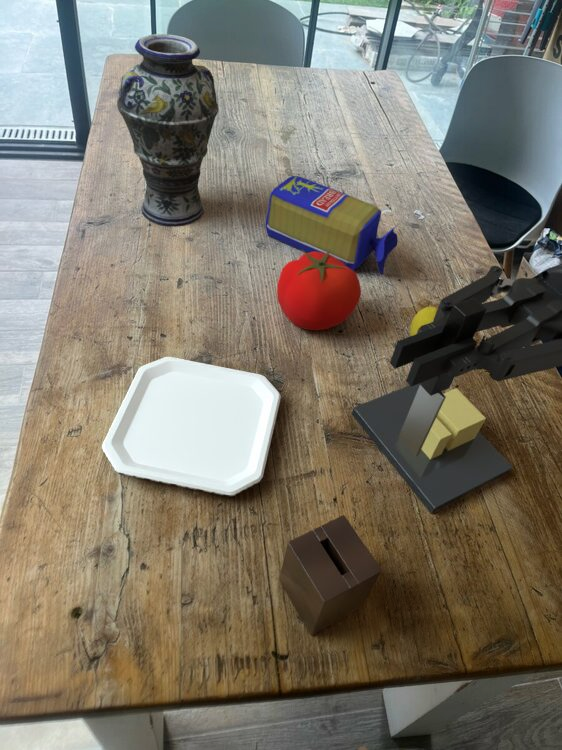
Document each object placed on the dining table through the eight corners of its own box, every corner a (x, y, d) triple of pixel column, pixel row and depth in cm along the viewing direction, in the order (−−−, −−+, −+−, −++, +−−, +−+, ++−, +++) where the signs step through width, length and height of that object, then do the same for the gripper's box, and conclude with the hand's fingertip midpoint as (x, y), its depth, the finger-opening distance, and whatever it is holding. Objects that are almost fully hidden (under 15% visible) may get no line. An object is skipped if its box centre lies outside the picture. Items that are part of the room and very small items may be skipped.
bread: (285, 214, 118) (291, 167, 110) (396, 261, 111) (411, 213, 103) (258, 236, 112) (263, 187, 104) (374, 287, 105) (388, 238, 97)
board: (509, 473, 79) (513, 467, 78) (431, 514, 73) (434, 508, 72) (425, 384, 89) (428, 377, 88) (351, 414, 84) (353, 407, 82)
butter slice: (441, 454, 78) (452, 434, 75) (430, 459, 77) (440, 439, 74) (413, 422, 82) (422, 402, 78) (402, 427, 81) (411, 406, 78)
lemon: (416, 361, 93) (431, 323, 87) (398, 338, 96) (411, 300, 90) (444, 353, 94) (461, 316, 89) (425, 331, 98) (440, 294, 92)
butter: (474, 438, 81) (486, 418, 78) (448, 451, 79) (458, 431, 76) (446, 408, 84) (456, 387, 81) (420, 419, 82) (429, 399, 79)
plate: (283, 388, 86) (285, 378, 84) (256, 509, 71) (257, 499, 70) (147, 361, 86) (146, 350, 85) (93, 475, 72) (91, 465, 71)
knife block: (364, 605, 65) (382, 570, 58) (311, 636, 62) (324, 602, 55) (329, 553, 68) (343, 514, 62) (278, 579, 66) (287, 541, 59)
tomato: (280, 288, 102) (288, 231, 93) (356, 303, 101) (370, 247, 93) (266, 333, 93) (273, 276, 85) (348, 350, 93) (363, 294, 84)
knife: (425, 451, 62) (493, 313, 48) (408, 459, 61) (472, 321, 47) (408, 431, 64) (468, 292, 50) (391, 439, 63) (447, 299, 49)
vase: (113, 197, 116) (94, 30, 94) (191, 181, 123) (190, 22, 102) (148, 241, 107) (136, 68, 85) (230, 220, 114) (238, 56, 93)
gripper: (623, 368, 58) (447, 453, 48) (516, 282, 66) (347, 341, 56) (667, 310, 52) (479, 394, 43) (545, 225, 60) (363, 279, 51)
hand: (404, 363), depth 49 cm, fingers closed on knife, 2 cm apart
